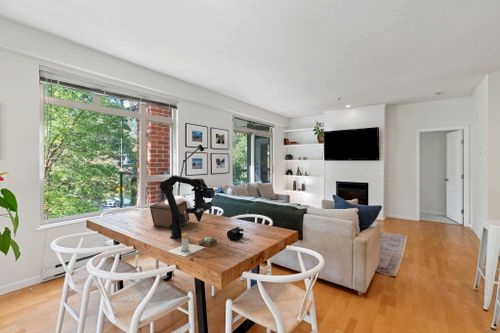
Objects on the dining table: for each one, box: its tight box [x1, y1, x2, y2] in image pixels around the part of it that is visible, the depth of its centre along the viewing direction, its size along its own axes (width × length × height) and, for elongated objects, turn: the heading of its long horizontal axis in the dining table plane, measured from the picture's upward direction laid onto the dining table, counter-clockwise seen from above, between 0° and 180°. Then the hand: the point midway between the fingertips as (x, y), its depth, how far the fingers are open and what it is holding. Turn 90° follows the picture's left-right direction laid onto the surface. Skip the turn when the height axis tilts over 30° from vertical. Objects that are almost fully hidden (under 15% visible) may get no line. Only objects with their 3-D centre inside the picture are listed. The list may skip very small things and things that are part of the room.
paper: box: [166, 242, 206, 258], centre depth 137 cm, size 14×16×1 cm
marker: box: [181, 232, 190, 252], centre depth 135 cm, size 4×4×9 cm
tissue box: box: [149, 195, 192, 229], centre depth 195 cm, size 24×28×24 cm
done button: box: [203, 236, 213, 242], centre depth 147 cm, size 5×5×3 cm
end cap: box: [226, 226, 244, 242], centre depth 157 cm, size 10×7×7 cm
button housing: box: [198, 237, 218, 248], centre depth 147 cm, size 8×8×2 cm
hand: (199, 221), depth 155 cm, fingers closed
